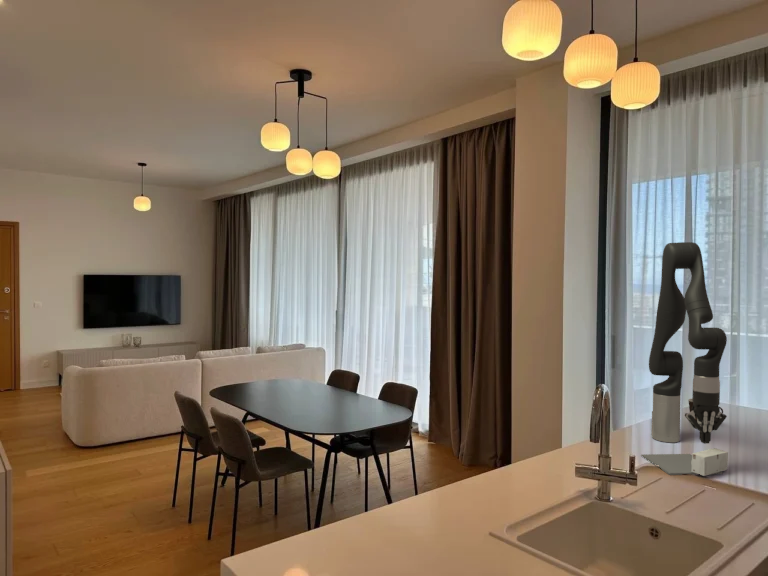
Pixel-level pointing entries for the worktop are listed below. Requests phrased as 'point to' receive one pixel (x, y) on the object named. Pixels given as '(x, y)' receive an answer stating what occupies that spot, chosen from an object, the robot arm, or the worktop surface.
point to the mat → (673, 463)
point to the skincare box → (709, 461)
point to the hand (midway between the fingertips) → (704, 442)
